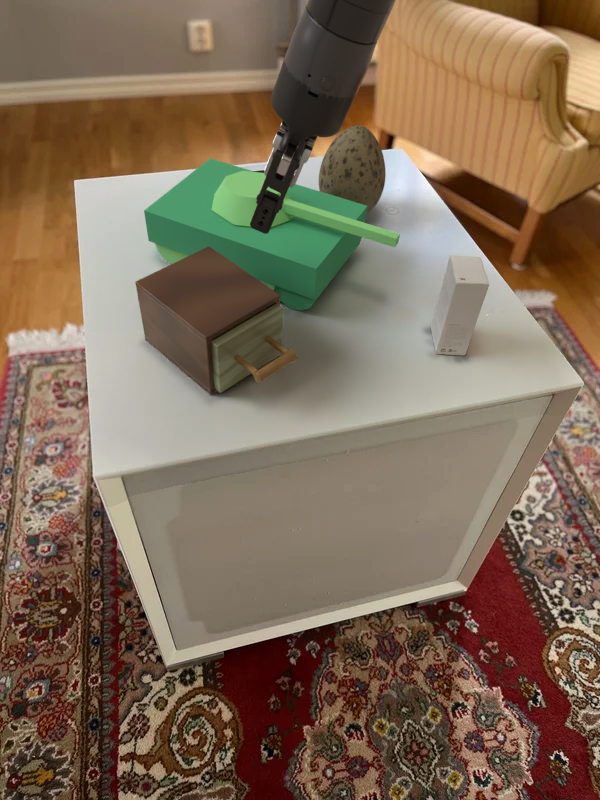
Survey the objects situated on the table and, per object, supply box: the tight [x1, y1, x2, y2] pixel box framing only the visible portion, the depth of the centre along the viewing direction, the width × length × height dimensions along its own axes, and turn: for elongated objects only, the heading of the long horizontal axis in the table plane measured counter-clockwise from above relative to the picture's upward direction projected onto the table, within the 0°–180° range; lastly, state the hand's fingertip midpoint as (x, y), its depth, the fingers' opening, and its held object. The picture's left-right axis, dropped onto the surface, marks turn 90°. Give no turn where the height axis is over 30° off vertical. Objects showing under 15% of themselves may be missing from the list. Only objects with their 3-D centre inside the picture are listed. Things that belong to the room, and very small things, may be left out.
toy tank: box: [143, 157, 401, 312], centre depth 93 cm, size 18×12×35 cm
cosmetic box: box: [430, 254, 490, 356], centre depth 83 cm, size 6×4×12 cm
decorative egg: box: [318, 125, 387, 214], centre depth 103 cm, size 11×11×15 cm
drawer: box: [211, 303, 299, 394], centre depth 79 cm, size 17×10×8 cm, turn 45°
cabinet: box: [134, 246, 281, 396], centre depth 81 cm, size 14×12×10 cm
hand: (267, 208), depth 72 cm, fingers open, 8 cm apart
